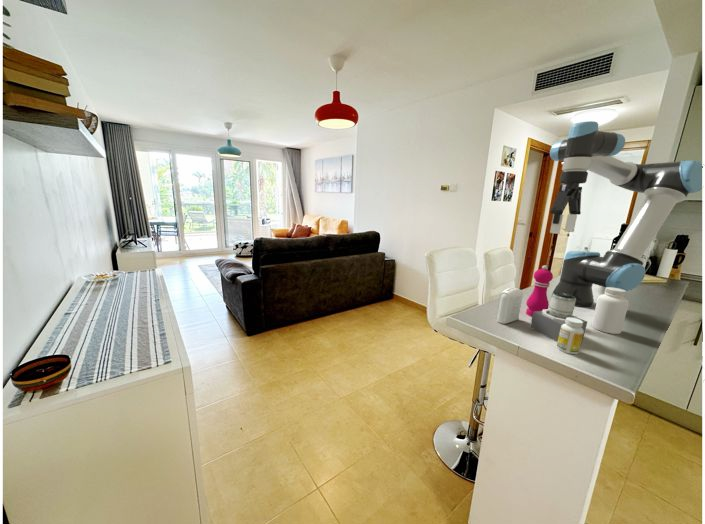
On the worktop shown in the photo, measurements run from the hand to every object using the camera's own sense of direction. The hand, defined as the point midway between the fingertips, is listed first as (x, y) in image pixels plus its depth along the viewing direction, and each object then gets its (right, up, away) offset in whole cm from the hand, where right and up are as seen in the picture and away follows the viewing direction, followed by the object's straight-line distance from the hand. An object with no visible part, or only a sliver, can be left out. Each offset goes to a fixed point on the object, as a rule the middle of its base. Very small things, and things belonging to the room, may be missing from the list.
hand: (561, 232), depth 102 cm
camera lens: (-7, -29, -8) cm, 31 cm away
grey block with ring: (-7, -35, -7) cm, 36 cm away
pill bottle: (+14, -35, -2) cm, 37 cm away
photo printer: (-19, -32, +1) cm, 38 cm away
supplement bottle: (-12, -37, -18) cm, 43 cm away
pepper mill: (-5, -32, +8) cm, 33 cm away
